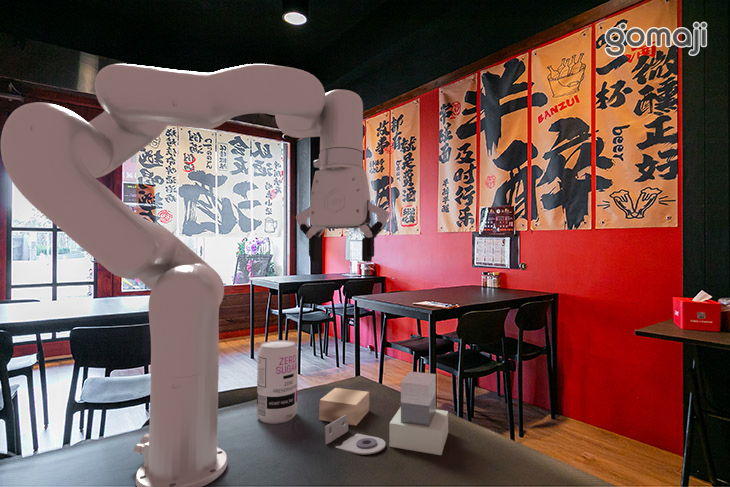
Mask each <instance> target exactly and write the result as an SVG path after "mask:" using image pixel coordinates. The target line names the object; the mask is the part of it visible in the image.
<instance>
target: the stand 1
mask: <svg viewBox="0 0 730 487" xmlns="http://www.w3.org/2000/svg"><path fill="white" fill-rule="evenodd" d="M318 408H319V411H318V412H319V415H318V417H319V418H318V419H319V421H323V422H324V421H325V422H330V423H332V422H334V421H335V420H337V419H339V418H341V417H342V416H344V415H347V416H348V426H349V425H350V426H357V425H358V424H359V423H360V422H361V421H362V419H363V418H364V417H365V416H366V415H367V414H368V413H369V411H370V391H367V390H365V391H364V390H356V389H347V388H341V387H335V388H333V389H332V390H330V391H329V392H328V393H327V394H326V395H324V396H323V397H322V398H320V399H319V406H318ZM344 424H345V420H344V421H343V422H342V425H344Z"/></svg>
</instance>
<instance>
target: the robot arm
mask: <svg viewBox="0 0 730 487" xmlns="http://www.w3.org/2000/svg"><path fill="white" fill-rule="evenodd" d="M324 88H325V87H324V86H323V84H322V83H321V81H320V80H319V79H318V78H317V77H316V76H315V75H314V74H311V73H310V72H308V71H305V70H302V69H300V68H299V69H298V68H295V67H289V66H282V65H275V64H267V63H266V64H265V63H253V64H251V63H250V64H244V65H243V64H242V65H239V66H234V67H233V66H232V67H229V68H224V69H220V70H217V71H214V72H198V71H191V70H190V71H189V70H178V69H170V68H162V67H155V66H146V65H137V64H130V63H129V64H127V63H113V64H109V65H106V66H104V67H103V68H102V69H100V70H99V71H98V73H97V75H96V76H95V80H94V91H95V95H96V99H97V102H98V103H99V105H100V106H101V108H102V109H103V110H104V111H103V112H102V113H100V114H98V115H97V116H95V117H94V118H92V120H90V121H87V120H85V119H84V118H83V117H81V116H80V115H78V114H77V113H75V112H74V111H72V110H70V109H68V108H65V107H63V106H60V105H57V104H53V103H49V102H41V101H38V102H30V103H26V104H23V105H21V106H19V107H17V108H16V109H14V111H12V112H11V113H10V115H9V116H8V117H7V119H6V121H5V123H4V124H3V127H2V131H1V136H0V153H1V154H0V155H1V159H2V162H3V167H4V169H5V171H6V173H7V175H8V177H9V178H10V180H11V181H12V183H13V185H14V186H15V188H16V189H17V190H18V191H19V192H20V193H21V195H22V196H23V197H24V198H25V199H26V200H27V201H28V202H29V204H31V205H32V206H34V208H35V209H36V210H38V211H39V212H40V213H41V214H42V215H43V216H44V217H46V218H47V219H48V220H49V221H51V222H52V224H54V225H55V226H57V227H58V228H59V230H61V231H62V232H64V234H66V235H67V237H68V238H70V240H72V241H74V242H75V243H76V244H77V245H78V246H80V248H82V249H83V250H84V251H85V252H86V253H87V254H89V255H90V256H91V257H92V258H94V259H95V260H96V261H97V262H98V263H99V264H100V265H101V266H102V267H104V268H105V269H106V270H107V271H108V272H109V273H111V274H113V275H114V276H116V277H119V278H121V279H126V280H127V279H129V280H134V279H137V280H139V281H140V282H141V283H142V284H144V285H145V286H146V287H147V288H149V289H150V294H149V299H148V320H149V322H148V323H149V331H150V332H149V333H150V389H149V390H150V392H149V393H150V394H149V395H150V396H149V397H150V398H149V423H148V424H149V426H148V427H149V429H148V432H149V433H148V432H147V433H145V434H144V435H142V437H141V439H140V442H139V443H138V442H137V443H136V444H135V446H134V447H133V452H134V453H135V454H140V455H143V463H142V465H141V466H140V467H139V468H138V470H137V471H136V474H135V486H136V487H205V486H207V485H209V484H210V483H213V481H215V480H217V479H218V478H220V476H221V475H222V474H223V473H224V471H225V470H226V469H227V466H228V455H227V452H226V451H225V450H223V449H222V448H220V447H219V446H218V426H219V425H218V424H219V423H218V418H219V417H218V416H219V376H220V375H219V372H220V371H219V370H220V369H219V366H220V363H219V360H220V359H219V358H220V357H219V356H220V354H219V353H220V351H219V350H220V347H219V346H220V345H219V344H220V342H219V341H220V338H219V337H220V332H219V329H220V327H219V323H220V322H219V318H220V316H219V315H220V314H219V313H220V305H221V304H222V302H223V299H224V296H225V285H224V282H223V279H222V278H221V275H219V273H218V272H217V271H216V270H215V269H214V267H212V266H210V264H208V263H207V261H205V260H203V259H202V258H201V257H200V256H199V255H198V254H197V253H196V252H195V251H194V250H192V249H191V248H190V247H189V246H188V245H186V244H185V243H184V242H183V241H182V240H181V239H180V238H179V237H177V236H176V235H175V234H174V233H172V232H171V231H170V229H169V230H168V229H167V228H166V227H164V226H162V225H161V224H159V223H156V222H153V221H151V220H148V219H146V218H144V217H142V215H140V214H138V213H137V212H136V211H134V210H133V209H132V208H130V206H128V205H127V204H126V203H125V202H124V201H122V200H121V199H120V198H119V197H118V196H117V195H116V194H115V193H114V192H113V191H112V190H110V188H108V187H107V186H106V185H105V184H103V183H102V182H101V181H99V179H98V178H101V177H104V176H106V175H108V174H110V173H111V172H113V171H115V170H116V169H117V168H119V167H120V166H121V165H122V164H124V163H125V162H127V161H128V160H129V159H131V158H132V157H134V156H135V155H136V154H138V153H139V152H140V151H142V150H144V149H145V148H147V146H148V145H150V144H151V143H153V142H154V141H155V140H156V139H157V138H159V136H161V135H162V133H163V132H164V131H165V130H166V129H167V127H168V126H170V127H178V128H179V127H181V128H182V127H183V128H191V129H193V128H194V129H206V130H208V129H209V130H210V129H215V128H217V127H219V126H221V125H223V124H224V123H225V122H227V121H229V120H230V119H231V120H232V119H233V118H235V117H238V116H242V115H243V116H244V115H249V114H250V115H251V114H267V115H268V114H270V115H274V116H275V117H274V118H275V123H276V125H277V127H278V129H279V130H280V131H281V132H282V133H283V134H285V135H286V136H289V137H290V138H299V139H302V138H305V139H306V138H316V137H319V138H320V139H319V154H318V159H314V160H313V167H314V168H318V169H319V170H316V171H315V173H314V176H313V180H312V186H311V194H310V201H309V202H310V203H309V207H307V208H306V209H304V210H302V211H301V212H299V213H297V214H296V216H295V219H296V222H297V224H298V226H299V229H300V230H301V232H302V233H303V234H304V235H305V237H306V238H307V239H308V257H309V260H310V262H321V261H322V251H323V250H322V247H323V246H322V242H323V241H322V239H320V237H321V235H322V234H323V233H324V231H325V230H326V229H327V230H328V229H329V230H333V229H334V230H336V229H337V230H338V229H359V230H360V231H361V232H362V233H363V235H364V237H362V240H361V261H362V262H364V263H365V262H366V263H367V262H369V263H371V262H372V261H373V259H372V258H374V256H375V239H376V238H377V236H378V235H379V234H380V233H381V232H382V230H384V228H385V225H386V224H387V221H388V219H389V217H390V212H389V211H388V210H385V209H384V208H382V207H379V206H378V205H375V204H374V203H371V193H370V186H369V180H368V179H369V178H368V173H367V171H366V170H365V168H363V167H364V166H363V165H364V164H363V162H364V161H363V160H364V158H363V156H364V154H363V153H364V150H363V149H364V147H363V146H364V139H363V138H364V133H363V131H364V127H363V126H364V124H363V123H364V102H363V100H362V98H361V97H360V95H359V94H358V93H356V92H354V91H352V90H348V89H333V90H330V91H328V92H326V91H325V89H324ZM372 213H373V214H375V215H377V220H376V222H375V223H374V224H373V225H372V226H371V225H370V224H371V222H372ZM308 218H309V223H308ZM309 224H310V225H311V226H310V225H309Z"/></svg>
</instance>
